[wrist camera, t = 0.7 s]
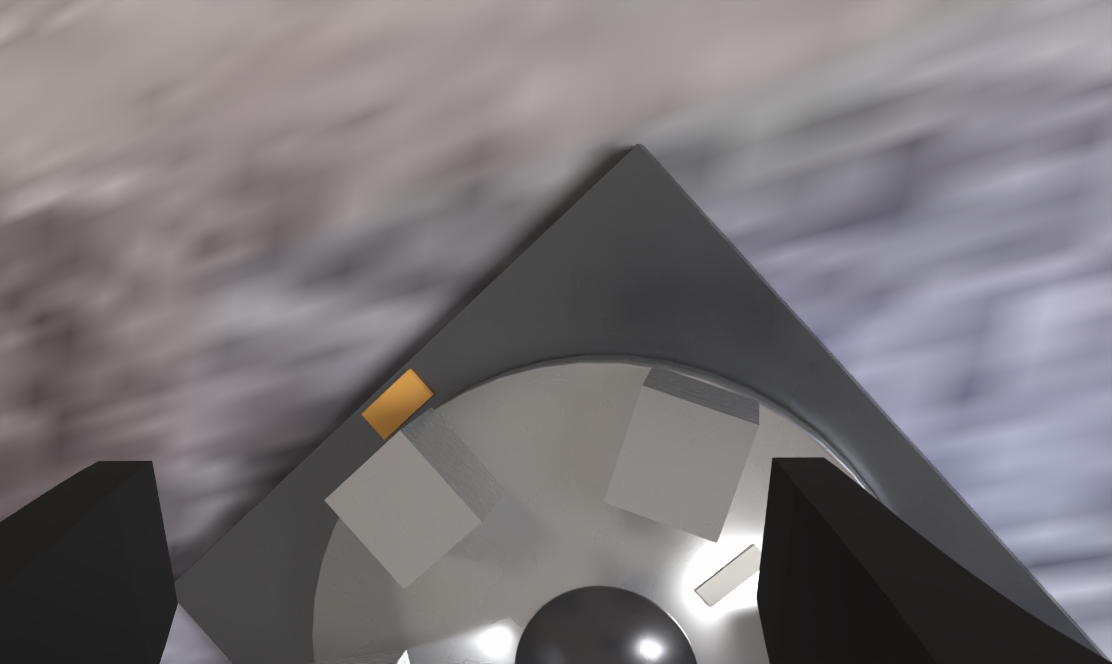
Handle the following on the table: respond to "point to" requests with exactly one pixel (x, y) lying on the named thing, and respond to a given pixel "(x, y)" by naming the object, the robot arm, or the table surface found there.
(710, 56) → the table surface
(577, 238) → the mount plate
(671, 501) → the metal disc with lugs
